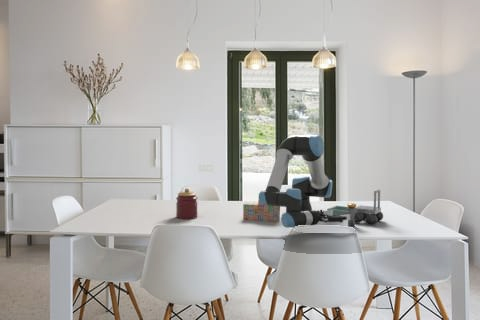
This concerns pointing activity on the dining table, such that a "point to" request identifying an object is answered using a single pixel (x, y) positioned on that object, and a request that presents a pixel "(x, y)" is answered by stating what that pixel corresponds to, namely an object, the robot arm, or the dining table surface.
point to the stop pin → (351, 214)
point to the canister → (186, 205)
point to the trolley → (369, 212)
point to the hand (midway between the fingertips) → (340, 214)
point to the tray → (339, 210)
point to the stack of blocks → (261, 212)
